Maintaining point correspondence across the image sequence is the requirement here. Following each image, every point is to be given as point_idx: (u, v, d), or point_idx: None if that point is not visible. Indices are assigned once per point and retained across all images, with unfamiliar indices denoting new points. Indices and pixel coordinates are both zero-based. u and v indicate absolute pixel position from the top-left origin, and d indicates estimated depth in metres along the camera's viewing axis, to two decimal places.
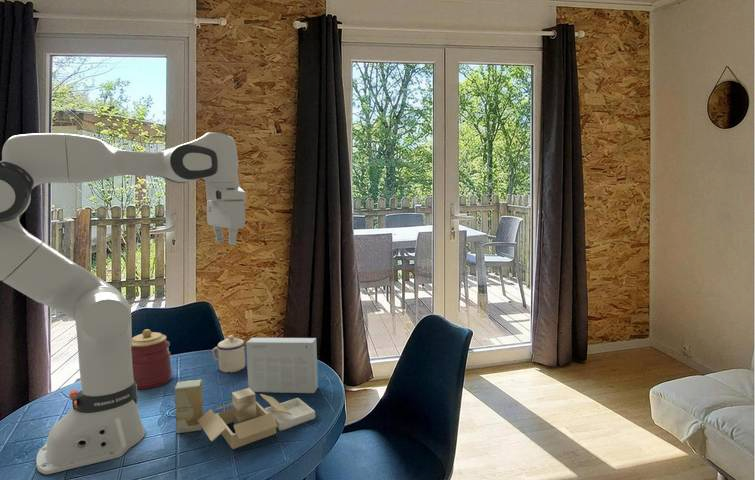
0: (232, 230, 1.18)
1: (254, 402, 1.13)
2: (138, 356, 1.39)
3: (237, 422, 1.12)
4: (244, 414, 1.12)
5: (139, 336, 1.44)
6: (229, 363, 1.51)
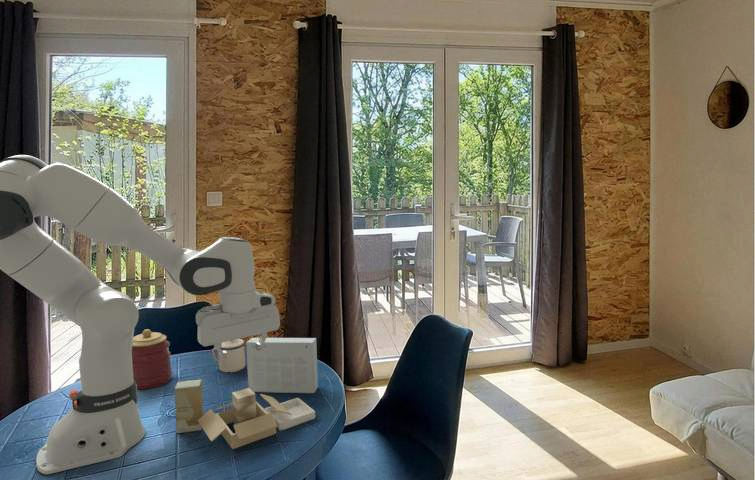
0: None
1: (254, 402, 1.13)
2: (138, 356, 1.39)
3: (237, 422, 1.12)
4: (244, 414, 1.12)
5: (139, 336, 1.44)
6: (229, 363, 1.51)
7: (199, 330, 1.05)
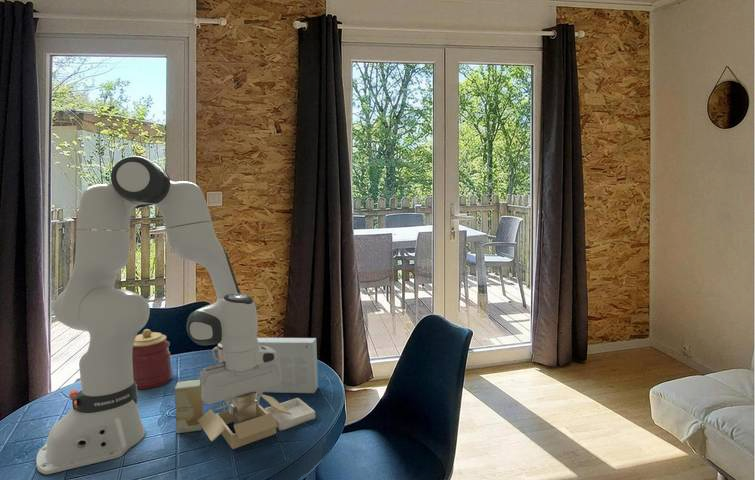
0: None
1: (254, 402, 1.13)
2: (139, 356, 1.39)
3: (237, 422, 1.12)
4: (244, 414, 1.12)
5: (139, 336, 1.44)
6: None
7: (203, 388, 1.07)
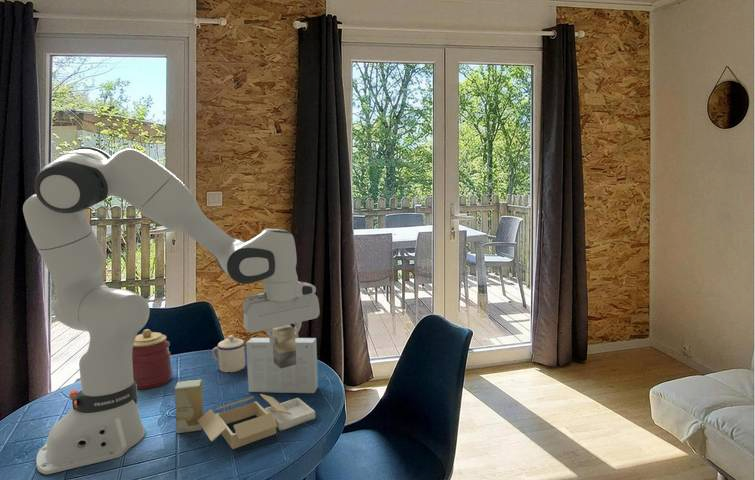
0: None
1: (294, 336, 1.17)
2: (138, 356, 1.39)
3: (277, 355, 1.16)
4: (284, 347, 1.16)
5: (139, 336, 1.44)
6: (229, 363, 1.51)
7: (246, 317, 1.10)
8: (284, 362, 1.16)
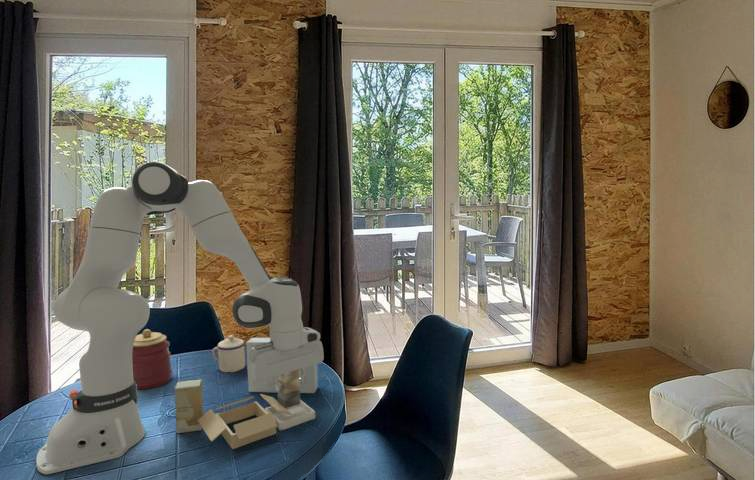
0: None
1: (298, 376, 1.20)
2: (139, 356, 1.39)
3: (282, 394, 1.19)
4: (289, 387, 1.19)
5: (139, 336, 1.44)
6: (229, 363, 1.51)
7: (253, 366, 1.13)
8: (288, 401, 1.19)
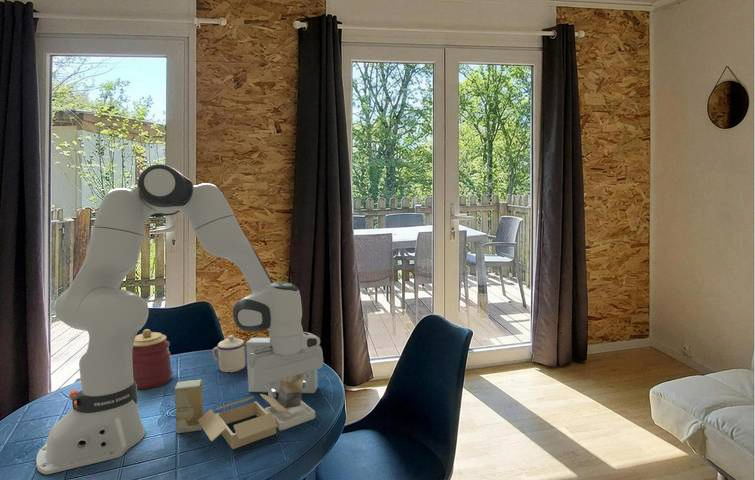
0: None
1: (302, 378, 1.21)
2: (139, 356, 1.39)
3: (284, 394, 1.19)
4: (292, 387, 1.19)
5: (139, 336, 1.44)
6: (229, 363, 1.51)
7: (252, 371, 1.13)
8: (289, 402, 1.19)
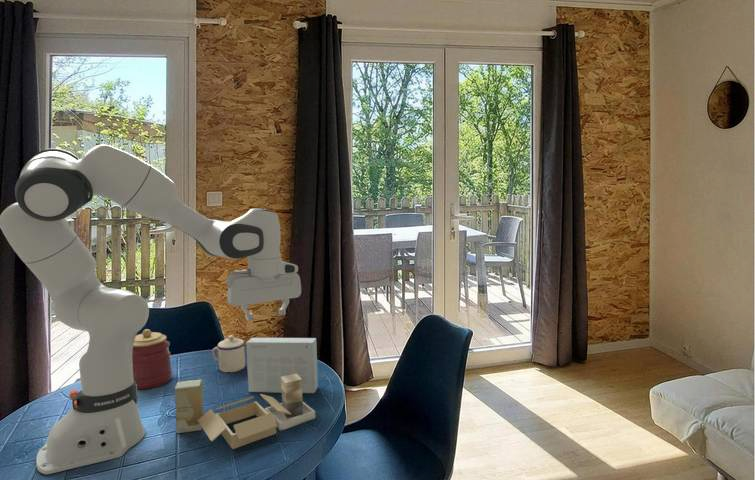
0: None
1: (300, 387, 1.20)
2: (138, 356, 1.39)
3: (285, 405, 1.20)
4: (291, 398, 1.19)
5: (139, 336, 1.44)
6: (229, 363, 1.51)
7: (230, 291, 1.15)
8: (290, 412, 1.19)
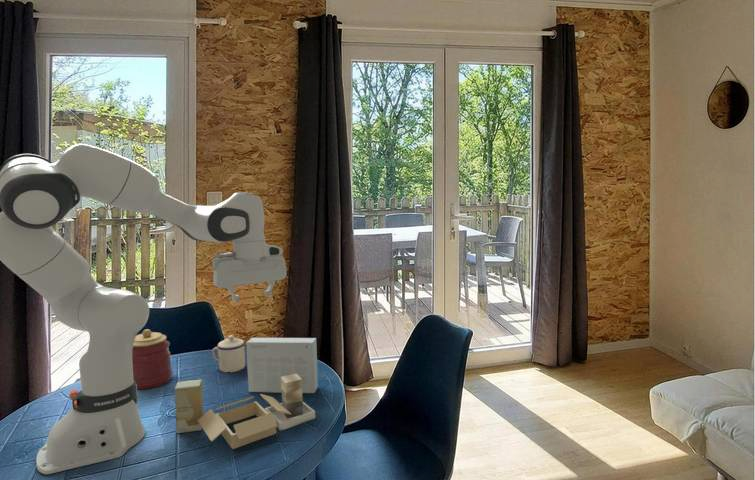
0: None
1: (300, 387, 1.20)
2: (139, 356, 1.39)
3: (285, 405, 1.20)
4: (291, 398, 1.19)
5: (139, 336, 1.44)
6: (229, 363, 1.51)
7: (215, 273, 1.18)
8: (290, 412, 1.19)
